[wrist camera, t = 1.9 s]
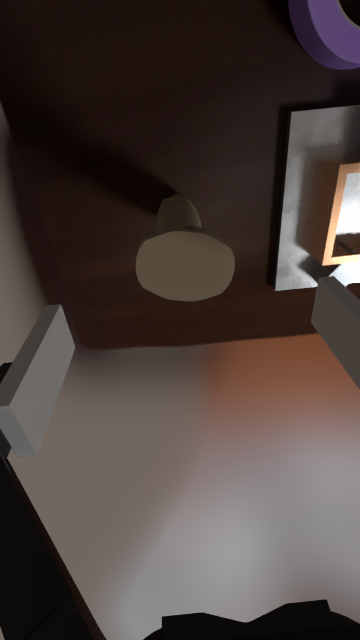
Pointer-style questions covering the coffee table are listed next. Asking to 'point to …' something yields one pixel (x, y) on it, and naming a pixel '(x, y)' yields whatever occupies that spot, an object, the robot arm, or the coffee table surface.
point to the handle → (183, 255)
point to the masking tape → (326, 33)
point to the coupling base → (319, 199)
